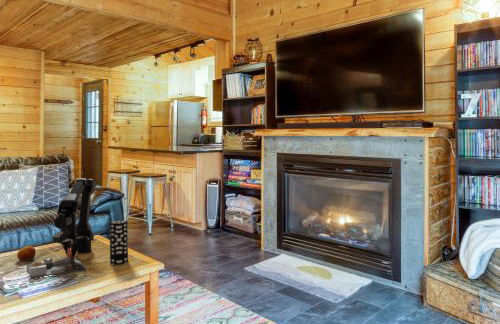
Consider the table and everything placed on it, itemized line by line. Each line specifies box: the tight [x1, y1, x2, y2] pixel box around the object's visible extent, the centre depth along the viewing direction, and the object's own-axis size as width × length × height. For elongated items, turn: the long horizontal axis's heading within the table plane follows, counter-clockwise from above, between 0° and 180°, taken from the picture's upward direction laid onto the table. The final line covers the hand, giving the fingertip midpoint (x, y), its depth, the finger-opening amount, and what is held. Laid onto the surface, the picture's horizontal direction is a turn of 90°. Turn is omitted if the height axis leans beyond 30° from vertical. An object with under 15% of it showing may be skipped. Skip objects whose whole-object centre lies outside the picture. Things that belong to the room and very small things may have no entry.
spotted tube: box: [109, 219, 129, 266], centre depth 191 cm, size 8×8×20 cm
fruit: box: [16, 245, 37, 262], centre depth 195 cm, size 8×8×8 cm
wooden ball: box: [31, 260, 44, 267], centre depth 173 cm, size 5×5×5 cm
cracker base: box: [26, 256, 87, 280], centre depth 182 cm, size 22×22×4 cm
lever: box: [41, 247, 76, 267], centre depth 185 cm, size 20×4×6 cm, turn 150°
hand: (70, 256), depth 192 cm, fingers open, 3 cm apart
